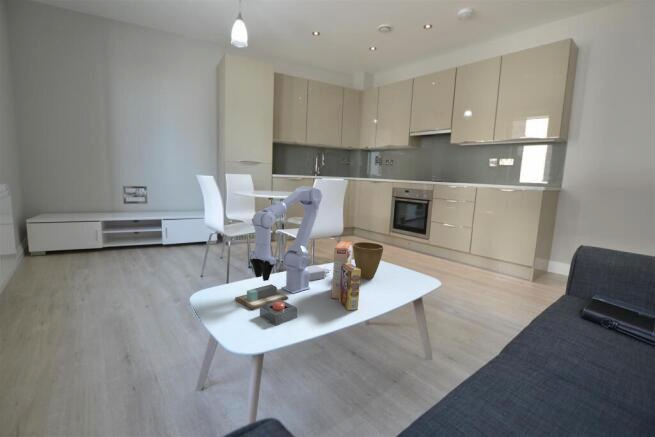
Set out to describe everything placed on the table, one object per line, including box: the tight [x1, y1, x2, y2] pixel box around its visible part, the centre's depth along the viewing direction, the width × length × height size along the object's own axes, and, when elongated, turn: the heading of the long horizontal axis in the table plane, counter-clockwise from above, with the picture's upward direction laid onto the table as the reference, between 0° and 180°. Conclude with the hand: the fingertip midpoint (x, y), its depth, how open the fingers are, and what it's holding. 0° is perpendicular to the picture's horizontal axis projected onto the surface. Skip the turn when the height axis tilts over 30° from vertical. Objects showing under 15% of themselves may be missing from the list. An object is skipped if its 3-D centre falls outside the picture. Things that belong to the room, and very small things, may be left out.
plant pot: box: [352, 241, 385, 280], centre depth 152 cm, size 15×15×16 cm
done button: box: [273, 302, 285, 311], centre depth 106 cm, size 4×4×2 cm
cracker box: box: [331, 240, 354, 300], centre depth 129 cm, size 14×6×21 cm, turn 168°
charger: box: [306, 264, 332, 282], centre depth 151 cm, size 5×9×15 cm
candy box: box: [338, 263, 361, 311], centre depth 117 cm, size 9×4×15 cm, turn 21°
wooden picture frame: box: [234, 290, 289, 311], centre depth 120 cm, size 16×12×1 cm
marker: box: [246, 284, 278, 301], centre depth 120 cm, size 12×3×3 cm, turn 136°
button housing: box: [259, 300, 298, 327], centre depth 106 cm, size 9×9×4 cm
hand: (262, 278), depth 119 cm, fingers open, 4 cm apart
